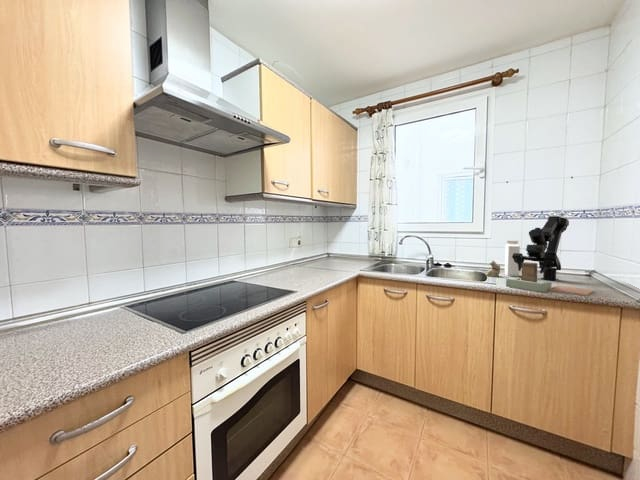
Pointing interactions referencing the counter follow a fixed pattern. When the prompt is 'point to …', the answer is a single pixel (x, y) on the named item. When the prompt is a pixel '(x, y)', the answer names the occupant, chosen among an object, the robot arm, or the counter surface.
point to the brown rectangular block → (529, 271)
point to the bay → (528, 285)
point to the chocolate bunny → (493, 270)
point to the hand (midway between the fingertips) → (529, 271)
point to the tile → (572, 290)
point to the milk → (511, 258)
